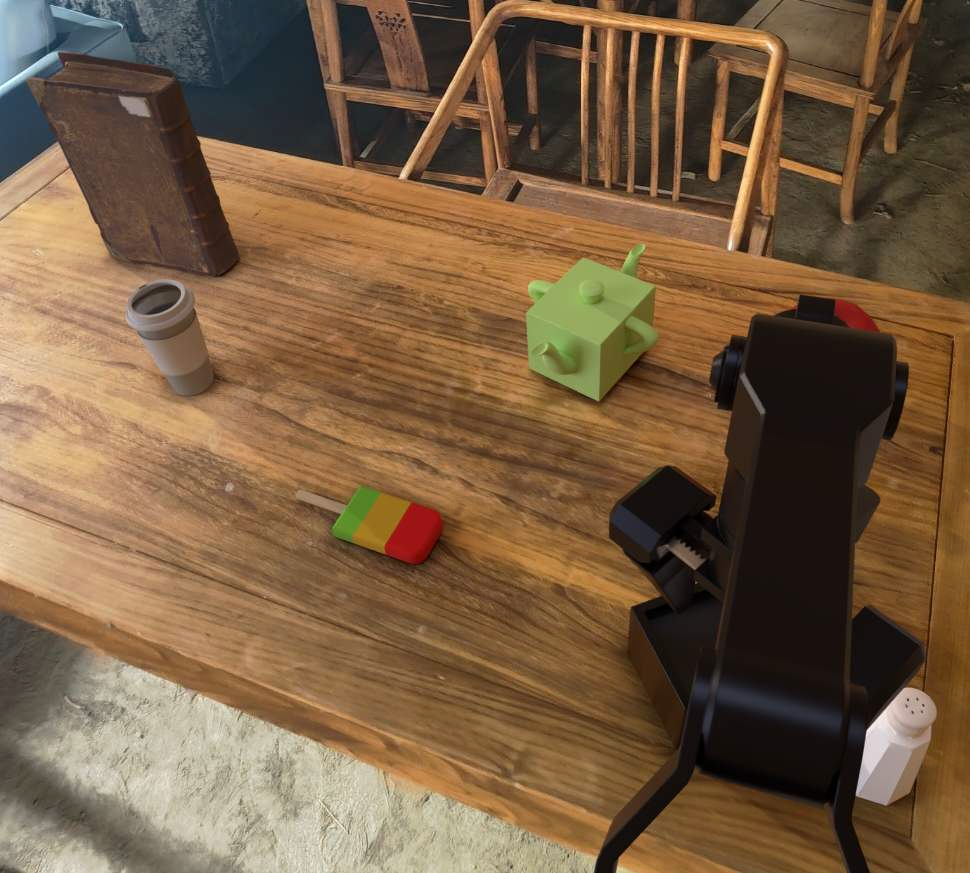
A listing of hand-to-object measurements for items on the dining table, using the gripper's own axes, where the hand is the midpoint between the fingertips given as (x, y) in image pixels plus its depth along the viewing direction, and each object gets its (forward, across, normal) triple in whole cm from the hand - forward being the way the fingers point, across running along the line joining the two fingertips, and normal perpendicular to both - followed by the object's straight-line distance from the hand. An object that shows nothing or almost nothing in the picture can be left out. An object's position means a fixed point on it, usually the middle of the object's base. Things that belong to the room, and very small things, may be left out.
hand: (736, 653), depth 61 cm
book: (+14, +86, -1) cm, 87 cm away
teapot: (+14, +36, -23) cm, 45 cm away
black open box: (+14, +3, -6) cm, 16 cm away
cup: (+14, +65, +9) cm, 67 cm away
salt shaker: (+14, -10, -7) cm, 19 cm away
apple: (+14, +16, -36) cm, 42 cm away
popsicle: (+14, +36, +7) cm, 39 cm away
